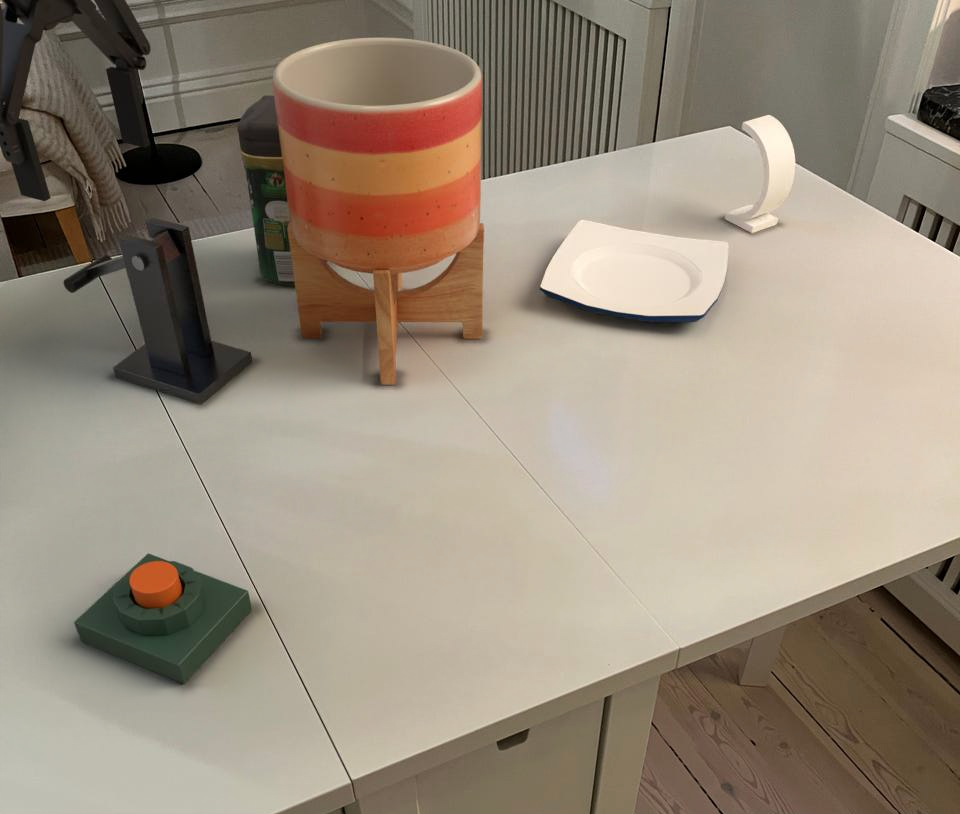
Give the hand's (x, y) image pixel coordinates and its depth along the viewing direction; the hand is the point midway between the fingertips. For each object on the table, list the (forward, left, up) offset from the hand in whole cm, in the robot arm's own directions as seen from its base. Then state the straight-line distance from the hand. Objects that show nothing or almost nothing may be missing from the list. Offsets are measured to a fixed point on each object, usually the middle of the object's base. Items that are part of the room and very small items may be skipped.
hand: (88, 169), depth 94 cm
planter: (+22, +16, -20) cm, 34 cm away
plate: (+42, +39, -20) cm, 61 cm away
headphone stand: (+50, +62, -20) cm, 82 cm away
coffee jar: (+4, +24, -20) cm, 32 cm away
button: (+28, -31, -16) cm, 44 cm away
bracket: (+6, 0, -20) cm, 21 cm away
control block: (+28, -31, -20) cm, 46 cm away
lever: (+2, 0, -10) cm, 10 cm away
